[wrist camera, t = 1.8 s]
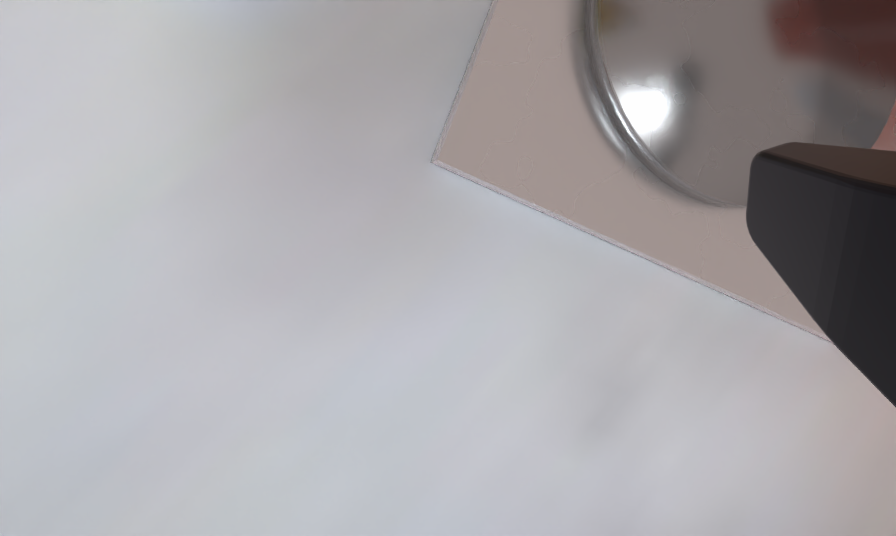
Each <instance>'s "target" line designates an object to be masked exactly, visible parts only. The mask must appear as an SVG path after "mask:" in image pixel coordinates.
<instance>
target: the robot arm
mask: <svg viewBox="0 0 896 536" xmlns="http://www.w3.org/2000/svg"><path fill="white" fill-rule="evenodd" d="M746 224H747V228H748V231H749V234H750V236H751V238H752V240H753V242H754V243H755V245H756V246H757V247H758V249H759V250H760V251H761V252H762V254H763V255H764V256H765V258H766V259H767V260H768V262H769V263H770V264H771V265H772V267H773V268H774V269H775V271H776V272H777V273H778V275H779V276H780V277H781V279H782V280H783V281H784V282H785V284H786V285H787V286H788V288H789V289H790V290H791V292H792V293H793V294H794V295H795V297H796V298H797V299H798V301H799V302H800V303H801V305H802V306H803V307H804V308H805V310H806V311H807V312H808V314H809V315H810V316H811V318H812V319H813V320H814V321H815V323H816V324H817V325H818V326H819V327H820V329H821V330H822V331H823V332H824V333H825V335H826V336H827V337H828V338H829V339H830V340H831V341H832V342H833V343H834V344H835V345H836V347H837V348H838V349H839V350H840V351H841V352H842V353H843V354H844V355H845V356H846V357H847V358H848V359H849V360H850V361H851V362H852V363H853V364H854V365H855V366H856V367H857V368H858V369H859V370H860V371H861V372H862V373H863V374H864V375H865V376H866V378H867V379H868V380H869V381H870V382H871V383H872V384H873V385H874V386H875V387H876V388H877V389H878V390H879V391H880V392H881V393H882V394H883V395H884V396H885V397H886V398H887V399H888V400H889V401H890V402H891V403H892V404H893V405H894V406H895V407H896V151H889V150H878V149H867V148H856V147H845V146H834V145H823V144H812V143H801V142H790V143H785V144H781V145H778V146H775V147H772V148H769V149H766V150H762V151H760V152H758V153H757V154H756V155H755V156H754V157H753V159H752V161H751V165H750V173H749V184H748V195H747V206H746Z"/></svg>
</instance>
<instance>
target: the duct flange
mask: <svg viewBox="0 0 896 536" xmlns="http://www.w3.org/2000/svg"><path fill="white" fill-rule="evenodd" d="M790 142H801V143H812V144H823V145H834V146H845V147H856V148H867V149H878V150H889V151H896V0H493V2H492V4H491V7H490V9H489V12H488V15H487V17H486V20H485V22H484V25H483V28H482V30H481V33H480V35H479V38H478V41H477V43H476V46H475V48H474V51H473V54H472V56H471V59H470V61H469V64H468V67H467V69H466V72H465V74H464V77H463V79H462V82H461V85H460V87H459V90H458V92H457V95H456V98H455V100H454V103H453V105H452V108H451V111H450V113H449V116H448V118H447V121H446V124H445V126H444V129H443V131H442V134H441V137H440V139H439V142H438V144H437V147H436V150H435V152H434V155H433V157H432V160H431V163H433V164H435V165H438V166H440V167H442V168H444V169H447V170H449V171H451V172H453V173H456V174H458V175H460V176H462V177H464V178H467V179H469V180H471V181H473V182H476V183H478V184H480V185H482V186H484V187H487V188H489V189H491V190H493V191H496V192H498V193H500V194H502V195H505V196H507V197H509V198H511V199H513V200H516V201H518V202H520V203H522V204H525V205H527V206H529V207H531V208H534V209H536V210H538V211H540V212H542V213H545V214H547V215H549V216H551V217H554V218H556V219H558V220H560V221H562V222H565V223H567V224H569V225H571V226H574V227H576V228H578V229H580V230H583V231H585V232H587V233H589V234H591V235H594V236H596V237H598V238H600V239H603V240H605V241H607V242H609V243H612V244H614V245H616V246H618V247H620V248H623V249H625V250H627V251H629V252H632V253H634V254H636V255H638V256H640V257H643V258H645V259H647V260H649V261H652V262H654V263H656V264H658V265H661V266H663V267H665V268H667V269H669V270H672V271H674V272H676V273H678V274H681V275H683V276H685V277H687V278H690V279H692V280H694V281H696V282H698V283H701V284H703V285H705V286H707V287H710V288H712V289H714V290H716V291H718V292H721V293H723V294H725V295H727V296H730V297H732V298H734V299H736V300H739V301H741V302H743V303H745V304H747V305H750V306H752V307H754V308H756V309H759V310H761V311H763V312H765V313H768V314H770V315H772V316H774V317H776V318H779V319H781V320H783V321H785V322H788V323H790V324H792V325H794V326H796V327H799V328H801V329H803V330H805V331H808V332H810V333H812V334H814V335H817V336H819V337H821V338H823V339H825V340H828V341H830V342H832V341H831V340H830V339H829V338H828V337H827V336H826V335H825V333H824V332H823V331H822V330H821V329H820V327H819V326H818V325H817V324H816V323H815V321H814V320H813V319H812V318H811V316H810V315H809V314H808V312H807V311H806V310H805V308H804V307H803V306H802V305H801V303H800V302H799V301H798V299H797V298H796V297H795V295H794V294H793V293H792V292H791V290H790V289H789V288H788V286H787V285H786V284H785V282H784V281H783V280H782V279H781V277H780V276H779V275H778V273H777V272H776V271H775V269H774V268H773V267H772V265H771V264H770V263H769V262H768V260H767V259H766V258H765V256H764V255H763V254H762V252H761V251H760V250H759V249H758V247H757V246H756V245H755V243H754V242H753V240H752V238H751V236H750V234H749V231H748V228H747V224H746V206H747V195H748V184H749V173H750V165H751V161H752V159H753V157H754V156H755V155H756V154H757V153H758V152H760V151H762V150H766V149H769V148H772V147H775V146H778V145H781V144H785V143H790ZM832 343H833V342H832Z"/></svg>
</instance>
